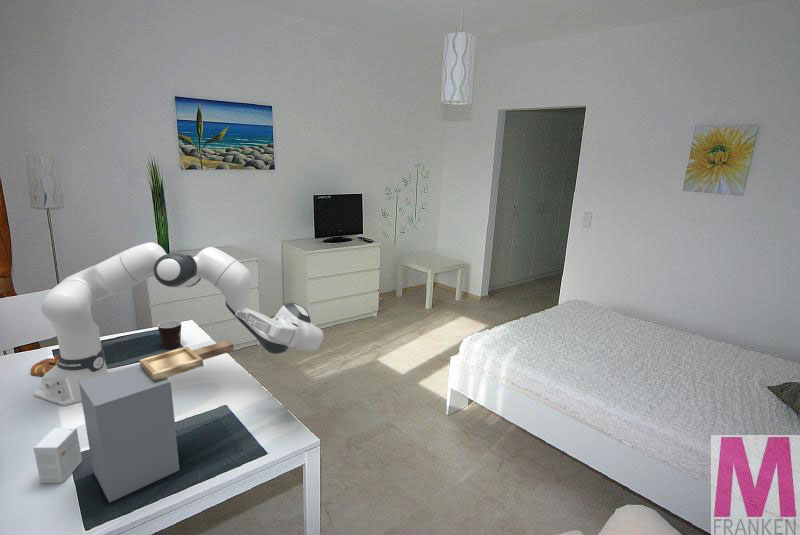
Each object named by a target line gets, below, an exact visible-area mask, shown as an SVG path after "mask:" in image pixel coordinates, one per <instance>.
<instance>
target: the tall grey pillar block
mask: <svg viewBox="0 0 800 535" xmlns="http://www.w3.org/2000/svg"><path fill="white" fill-rule="evenodd" d="M79 386H80V393H81V399H82V401H81V403H82V404H81V405H82V410H83V418H84V422H85V428H86V429H85V430H86V434H87V442H88V447H89V453H90V454H89V455H90V458H91V459H90V460H91V466H92V472H93V474H94V476H95V478H96V481H98V483H99V486H100V487H101V490H102V491H103V493H104V496H105V498H106V499H107V501H108V503H112V502H114V501H116V500H118V499H120V498H123V497H125V496H127V495H129V494H132V493H134V492H135V491H137V490H141V489H142V488H144V487H146V486H149V485H150V484H153V483H155V482H157V481H159V480H162V479H163V478H166V477H168V476H169V475H170V476H171V475H172V474H174V473H176V472H178V471H180V462H179V460H180V459H179V452H178V442H177V433H176V431H177V430H176V422H175V413H174V412H175V410H174V401H173V393H172V382H171V380H170V379H169V377H167V378H164V379H161V380H158V381H155V382H154V381H153V380H152V379H151V378H150V377H149V376H148V374H147V373H146V372H145V371H144V370H143V369H142V368H141V367H140V364H137V365H134V366H129V367H126V368H122V369H119V370H116V371H112V372H108V374H105V375H101V376H98V377H94V378H91V379H87V380H84V381H80V382H79Z"/></svg>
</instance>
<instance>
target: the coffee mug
mask: <svg viewBox="0 0 800 535" xmlns="http://www.w3.org/2000/svg"><path fill="white" fill-rule="evenodd" d="M157 328H158V333H159V337H160V341H161V345H162V349H163V350H166V351H173V350H176V349H179V348H180V347H181V342H182V341H181V335H182V321H181V320H177V319H169V320H164V321H163V320H162V321H161V322H159V323H158V324H157Z"/></svg>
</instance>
